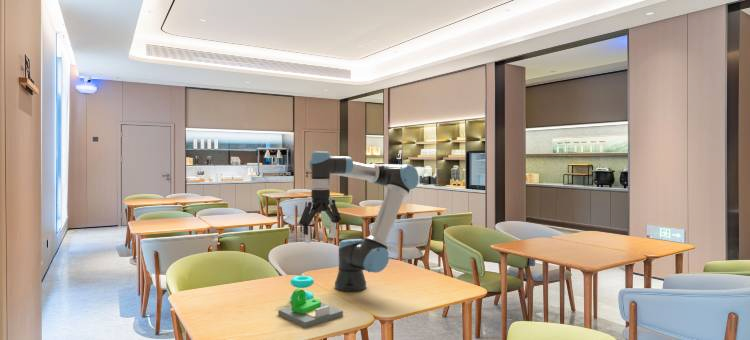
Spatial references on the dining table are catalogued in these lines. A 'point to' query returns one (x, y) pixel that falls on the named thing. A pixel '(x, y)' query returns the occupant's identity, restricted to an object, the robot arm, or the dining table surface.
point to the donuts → (303, 284)
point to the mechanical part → (303, 302)
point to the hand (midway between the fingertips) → (320, 240)
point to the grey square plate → (311, 315)
